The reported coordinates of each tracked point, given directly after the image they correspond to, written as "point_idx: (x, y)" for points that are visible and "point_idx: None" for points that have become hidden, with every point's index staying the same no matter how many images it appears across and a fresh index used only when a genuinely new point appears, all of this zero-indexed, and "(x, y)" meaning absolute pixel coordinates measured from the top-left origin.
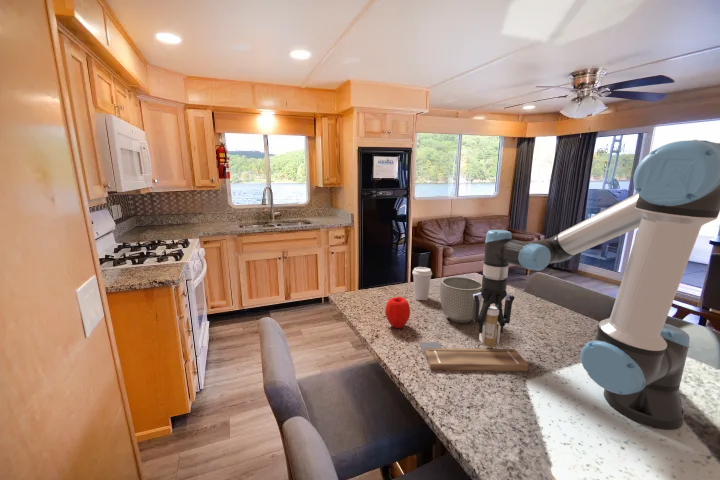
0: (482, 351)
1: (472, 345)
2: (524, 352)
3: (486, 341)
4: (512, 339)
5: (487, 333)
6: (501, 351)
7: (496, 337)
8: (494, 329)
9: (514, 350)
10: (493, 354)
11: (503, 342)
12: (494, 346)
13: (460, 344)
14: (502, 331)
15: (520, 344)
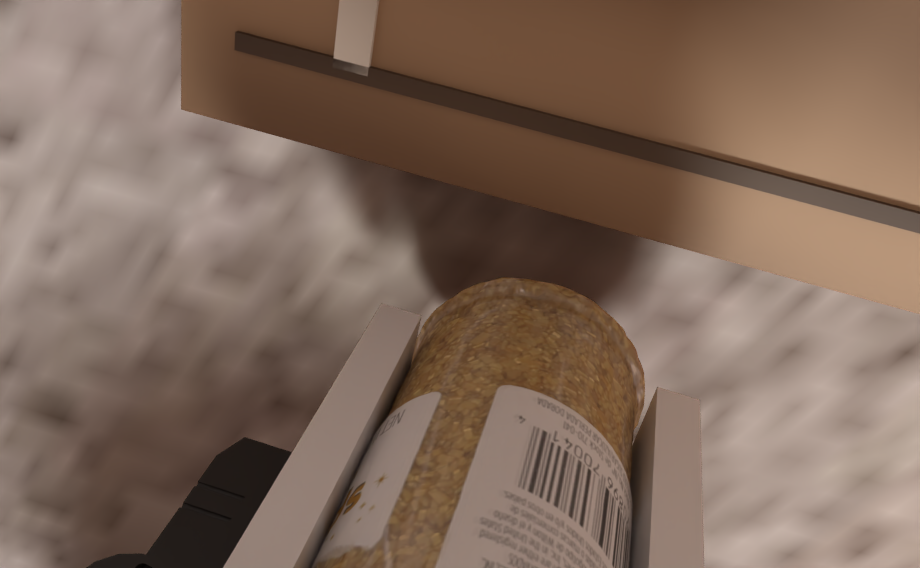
0: (871, 198)
1: (730, 460)
2: (46, 89)
3: (617, 396)
4: (71, 398)
5: (606, 524)
6: (477, 94)
7: (383, 408)
8: (434, 554)
9: (207, 66)
10: (726, 36)
11: (222, 382)
12: (488, 281)
13: (903, 535)
14: (214, 467)
15: (18, 278)
